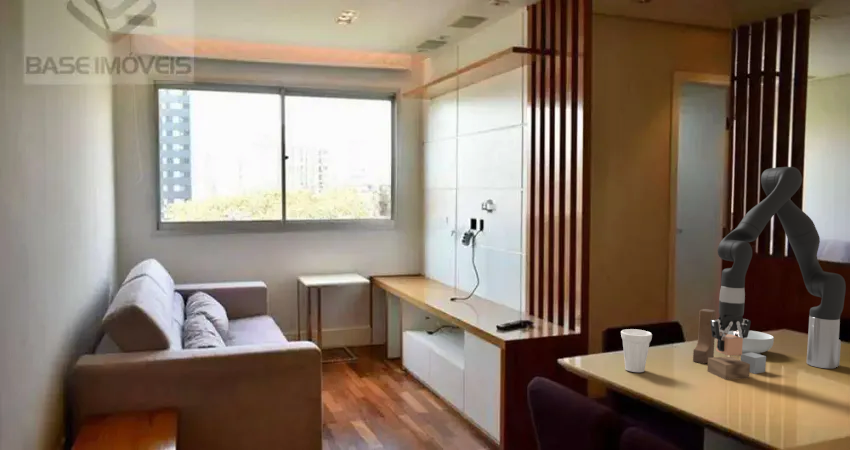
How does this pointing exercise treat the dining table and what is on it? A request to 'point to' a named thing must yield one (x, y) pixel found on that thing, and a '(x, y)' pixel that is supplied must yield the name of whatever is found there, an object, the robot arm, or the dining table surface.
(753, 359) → the slate cube
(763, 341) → the cereal bowl
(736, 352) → the terracotta cube
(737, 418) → the dining table surface
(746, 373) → the walnut base block
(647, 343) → the cup
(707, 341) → the wooden block
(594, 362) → the dining table surface
